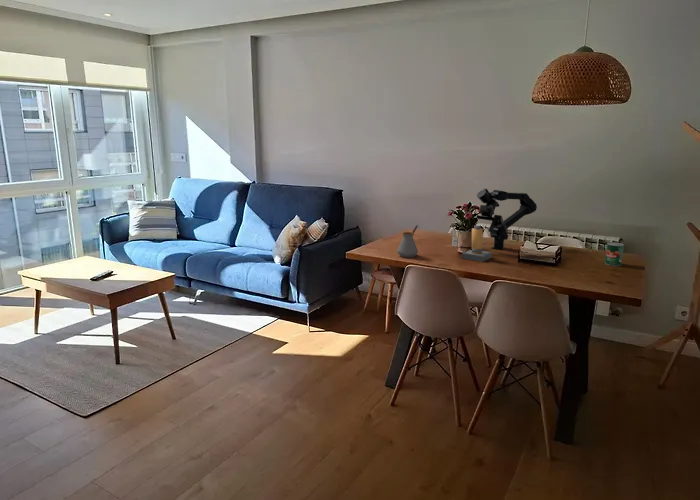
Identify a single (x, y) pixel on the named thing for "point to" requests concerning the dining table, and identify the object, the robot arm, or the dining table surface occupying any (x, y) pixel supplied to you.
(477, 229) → the housing
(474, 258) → the stand
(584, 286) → the dining table surface
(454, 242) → the ink cartridge box
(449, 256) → the dining table surface
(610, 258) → the canned tomato
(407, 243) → the coffee pot
